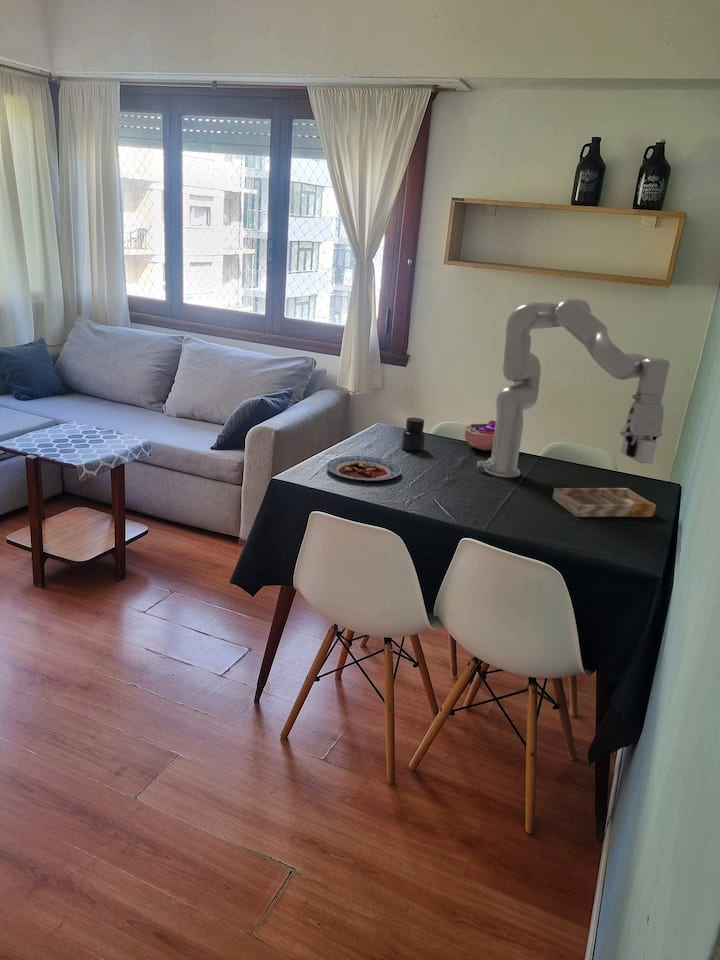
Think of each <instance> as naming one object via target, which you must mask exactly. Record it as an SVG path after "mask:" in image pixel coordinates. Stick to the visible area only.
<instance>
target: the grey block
mask: <svg viewBox="0 0 720 960" xmlns="http://www.w3.org/2000/svg"><path fill="white" fill-rule="evenodd" d="M627 434H628V435H629V433H628V432H627ZM657 442H658V441H657V440H652V439H650V438H648V437H646V436H638V437H637V439H636V442H635V444H634V445H636V448H635V452H634V457H630V456H628V455H626V450H627V446H628V442H627V441H626V439H625V438H624V437H623V440H622V445H621V449H620V454H622V455H624V456H626V457H628V458H629V459H631V460H634V461H635V462H637V463H639V464H653V462H654V456H655V452H656V447H657Z"/></svg>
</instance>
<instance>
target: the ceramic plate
mask: <svg viewBox="0 0 720 960" xmlns="http://www.w3.org/2000/svg"><path fill="white" fill-rule="evenodd" d="M348 464H349V465H348ZM342 466H343V467H342ZM339 468H340V469H339ZM326 469H327V470H328V471H329V472H330V473H332V474H334V475H336V476H339V477H342V478H346V479H351V480H355V479H356V480H357V481H362V480H364V481H365V482H367V481H368V482H370V481H371V482H373V481H384V480H390V479H394V478H396V477H399V475H401V473H402V468H401V467H400V466H399V465H398V464H397V463H394V462H392V461H390V460H388V459H384V458H378V457H374V456H373V457H372V456H365V455H364V456H363V455H349V456H341V457H336V458H333V459H330V460H329V461H328V462H327V463H326ZM356 480H355V481H356Z"/></svg>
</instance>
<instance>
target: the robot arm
mask: <svg viewBox="0 0 720 960" xmlns="http://www.w3.org/2000/svg"><path fill="white" fill-rule="evenodd" d="M549 328H552V329H553V328H564V329H565V330H566V331H567V332H568V333H569V334H571V336H573V337H574V338H575V339H576V340H578V341H579V343H581V344H582V345H583V346H584V347H585V349H587V352H588V353H589V355H590V356H591V358H592V359H593V360H594V362H596V364H598V366H599V367H600V368H602V369H603V370H604V371H605V372H606V373H607V374H609V375H610V376H611V377H612V378H614V379H615V380H619V381H626V380H629V379H637V378H638V382H637V388H636V393H635V394H632V399H633V400H634V401H632V403H631V406H630V408H629V410H628V414H627V417H626V421H625V426H624V427H623V428H622V430H621V431H620V433H619V434H620V435H621V436H622V437H623V439H624V438H625V439H626V441H627V442H628V446H627V450H626V455H628V456H630V457H634V452H635V448H636V445H634V444H635V442H636V439H637V437H638V436H646V437H648V438H650V439H652V440H655V441H657V439H659V438H660V437H662V435H663V432H662V428H663V420H664V404H662V401H663V397H664V393H665V392H664V391H665V387H666V383H667V378H668V373H669V369H670V362H669V360H667V359H666V358H661V357H653V356H652V357H651V356H650V357H649V356H645V355H642V354H639V353H635V352H633V353H624V352H623V351H622V350H621V349H620V348H618V347H617V345H616V344H614V343H613V342H612V340H611V339H610V338H609V337H610V336H609V335H608V329H607V326H606V324H604V323H602V321H601V320H599V319H598V318H597V317H596V316H594V315H593V313H592V310H591V306H590V304H589V303H588V302H587V301H585V300H584V299H580V298H568V299H564V300H562V301H547V302H528V303H524V304H522V305H519V306H518V307H517V308H515V309H514V310H513V311H512V312H511V313H510V315H509V316H508V319H507V322H506V327H505V344H504V354H503V365H502V373H503V377H504V378H505V379H506V380H507V381H509V382H511V383H512V382H513V384H512V385H509V386H505V387H503V388H502V389H501V390H500V392H499V393H498V394H497V397H496V401H495V405H496V406H495V408H496V417H495V421H496V425H495V432H494V440H493V447H492V450H491V456H490V457H488V458H487V459H486V460H478V461H477V462H476V466H477V467H483V468H484V470H485V471H484V472H485V473H487V474H489V475H492V476H495V477H499V478H508V479H509V478H511V479H512V478H517V477H519V476H520V475H521V470H520V469H519V468H518V463H519V462H518V461H519V456H520V450H521V442H522V436H523V430H524V416H523V415H524V414H523V412H524V411H526V410H529V409H531V408H532V407H533V406H535V405H536V404H537V401H538V397H539V389H540V388H539V387H540V381H541V372H542V371H541V370H542V369H541V368H542V367H541V362H540V360H539V358H538V356H536V355H535V354H534V353H532V352H531V346H532V338H531V334H530V333H531V331H533V330H536V329H538V330H539V329H549ZM627 432H628V433H629V435H628V434H627ZM626 455H625V456H626ZM628 456H627V457H628Z"/></svg>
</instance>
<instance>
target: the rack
mask: <svg viewBox="0 0 720 960" xmlns="http://www.w3.org/2000/svg"><path fill="white" fill-rule="evenodd" d="M552 499H553V500H554V501H555V502H557V503H558V504H559V505H561V506H562V507H564V508H565V510H567V511H569V512H570V513H571V514H572V515H573V516H574V517H576V518H577V517H578V518H579V517H580V518H582V517H583V518H585V517H586V518H589V517H591V518H593V517H595V518H597V517H602V518H603V517H631V518H651V517H654V516H655V513H656V508H657V505H656V504H655V503H654V502H651V501H649V500H648V499H646V498H644V497H642V496H641V495H639V494H638V493H637V492H634V491H633V490H631V489H630V488H628V487H598V488H597V487H579V488H578V487H554V488H553V493H552Z"/></svg>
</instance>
